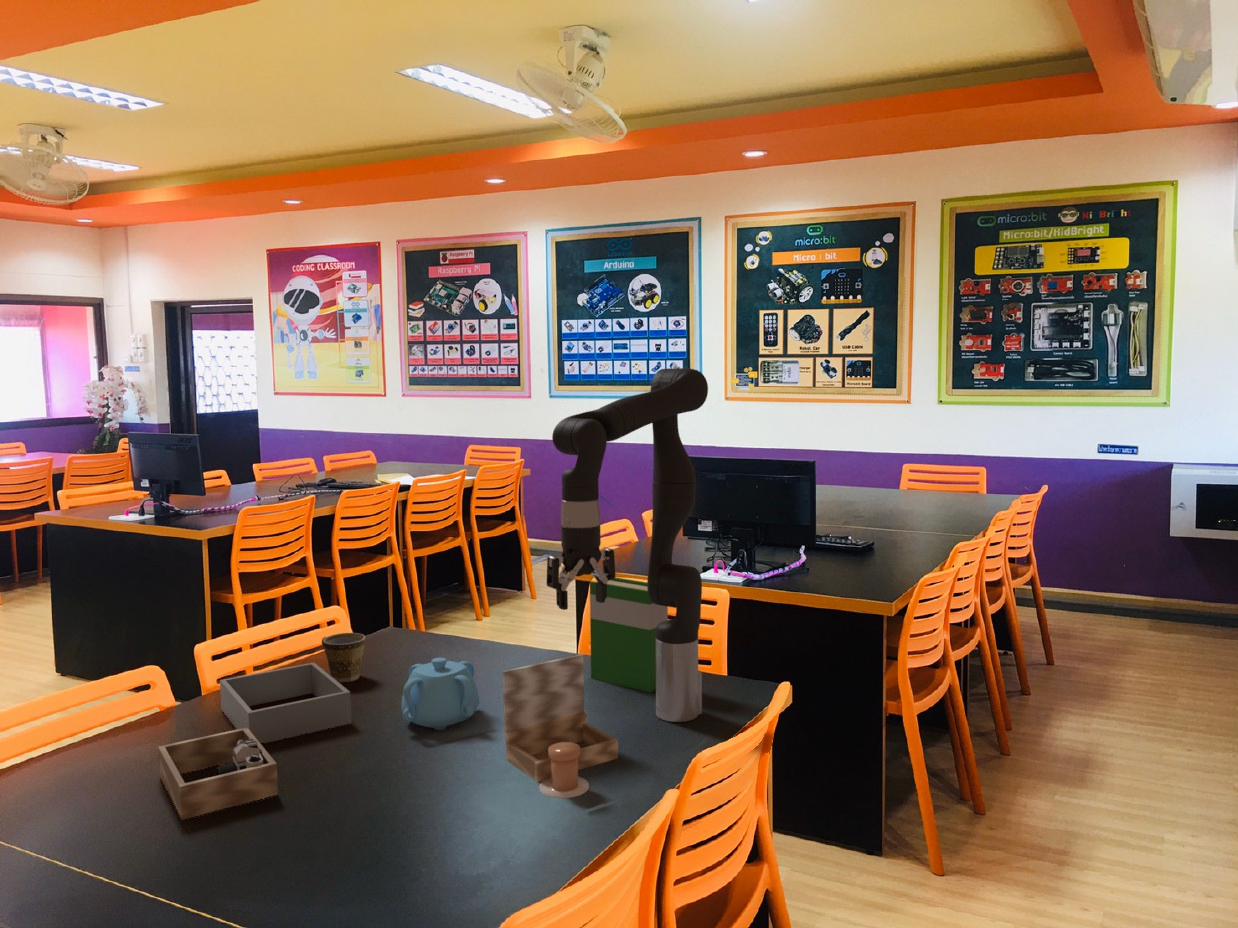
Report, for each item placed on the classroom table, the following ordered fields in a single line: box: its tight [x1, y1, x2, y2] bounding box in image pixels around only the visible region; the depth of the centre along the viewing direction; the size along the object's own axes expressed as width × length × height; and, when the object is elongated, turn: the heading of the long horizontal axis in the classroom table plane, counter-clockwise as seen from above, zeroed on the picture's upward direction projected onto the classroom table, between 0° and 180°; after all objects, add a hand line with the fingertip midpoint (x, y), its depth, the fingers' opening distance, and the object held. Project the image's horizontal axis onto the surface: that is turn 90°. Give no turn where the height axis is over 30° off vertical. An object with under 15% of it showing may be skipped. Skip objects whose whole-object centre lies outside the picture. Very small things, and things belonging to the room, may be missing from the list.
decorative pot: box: [400, 657, 480, 731], centre depth 206 cm, size 16×16×14 cm
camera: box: [215, 737, 263, 776], centre depth 174 cm, size 13×8×9 cm, turn 34°
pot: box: [548, 742, 580, 792], centre depth 172 cm, size 6×6×7 cm
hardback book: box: [589, 576, 669, 693], centre depth 229 cm, size 18×7×24 cm, turn 53°
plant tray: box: [219, 662, 353, 745], centre depth 209 cm, size 21×25×7 cm
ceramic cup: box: [321, 632, 366, 683], centre depth 235 cm, size 13×10×10 cm
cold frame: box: [502, 653, 619, 783], centre depth 184 cm, size 18×14×18 cm
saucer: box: [538, 776, 590, 799], centre depth 173 cm, size 9×9×1 cm
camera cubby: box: [157, 727, 279, 821], centre depth 175 cm, size 16×21×6 cm
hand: (581, 605), depth 184 cm, fingers open, 8 cm apart
